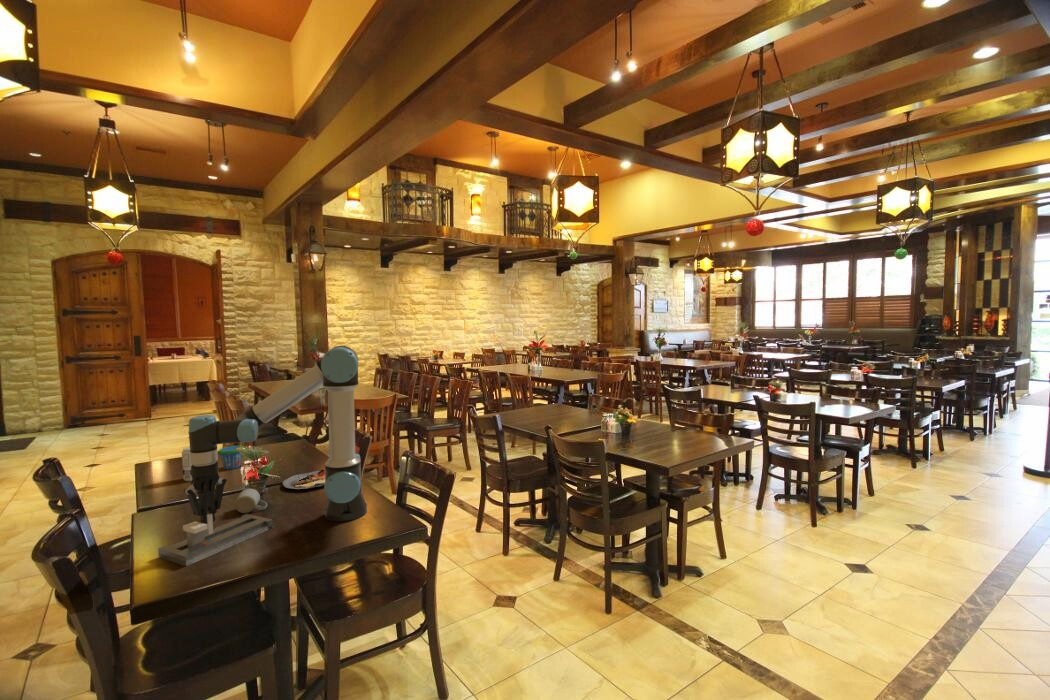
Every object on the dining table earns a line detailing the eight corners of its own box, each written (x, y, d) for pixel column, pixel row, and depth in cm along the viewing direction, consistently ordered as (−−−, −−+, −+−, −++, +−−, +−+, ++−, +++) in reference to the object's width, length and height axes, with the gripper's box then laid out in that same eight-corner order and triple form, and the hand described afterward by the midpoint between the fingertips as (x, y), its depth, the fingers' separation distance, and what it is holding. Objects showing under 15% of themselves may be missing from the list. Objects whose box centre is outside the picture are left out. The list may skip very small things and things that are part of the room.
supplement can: (186, 477, 237) (185, 446, 236) (206, 475, 240) (204, 445, 239) (180, 482, 229) (178, 450, 228) (201, 480, 232) (199, 449, 231)
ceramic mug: (234, 515, 189) (234, 496, 188) (239, 508, 197) (238, 489, 196) (265, 512, 192) (265, 492, 192) (268, 504, 200) (268, 486, 200)
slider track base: (247, 521, 183) (246, 513, 183) (273, 527, 177) (272, 519, 177) (158, 557, 156) (158, 548, 156) (186, 566, 150) (185, 556, 150)
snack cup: (212, 472, 244) (211, 452, 243) (216, 466, 254) (215, 447, 253) (248, 468, 250) (247, 448, 249) (251, 463, 260) (250, 444, 259)
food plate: (334, 470, 243) (333, 463, 243) (348, 483, 225) (348, 476, 224) (278, 483, 228) (277, 475, 228) (289, 497, 210) (288, 489, 209)
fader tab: (196, 542, 162) (195, 521, 162) (208, 545, 160) (207, 524, 160) (184, 547, 159) (182, 526, 158) (195, 550, 156) (194, 529, 156)
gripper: (216, 456, 169) (220, 523, 170) (176, 467, 157) (180, 539, 159) (231, 459, 166) (234, 527, 167) (191, 470, 154) (195, 543, 156)
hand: (208, 533), depth 163 cm, fingers closed
